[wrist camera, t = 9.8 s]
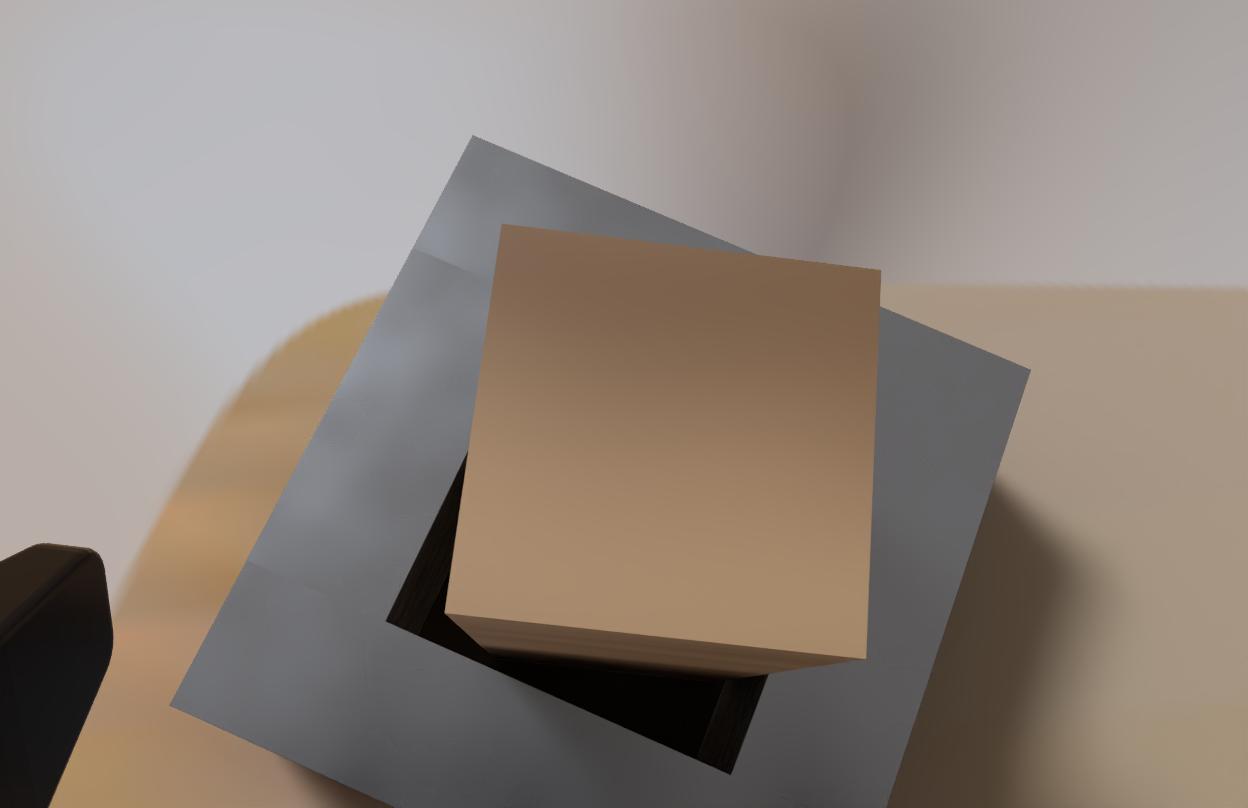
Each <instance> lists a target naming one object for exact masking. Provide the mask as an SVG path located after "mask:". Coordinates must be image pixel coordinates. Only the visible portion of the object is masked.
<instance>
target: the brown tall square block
mask: <svg viewBox="0 0 1248 808" xmlns="http://www.w3.org/2000/svg"><path fill="white" fill-rule="evenodd" d="M880 286H881V270H874V269H867V268H858V267H849V266H842V265H834V264H826V263H818V262H810V261H802V260H793V259H785V258H777V257H769V256H760V255H753V254H745V253H737V252H729V251H720V250H712V249H704V248H696V247H688V246H680V245H672V244H664V243H655V242H647V241H639V240H631V239H623V238H615V237H607V236H599V235H590V234H582V233H574V232H566V231H558V230H550V229H542V228H534V227H525V226H517V225H509V224H501V231H500V238H499V245H498V252H497V258H496V265H495V272H494V279H493V286H492V292H491V299H490V306H489V313H488V320H487V327H486V333H485V340H484V347H483V354H482V361H481V368H480V374H479V381H478V388H477V395H476V402H475V409H474V415H473V422H472V429H471V436H470V443H469V450H468V456H467V463H466V470H465V477H464V484H463V491H462V497H461V504H460V511H459V518H458V525H457V531H456V538H455V545H454V552H453V559H452V566H451V572H450V579H449V586H448V593H447V600H446V607H445V614H446V615H447V616H448V617H449V618H451V619H452V620H453V621H454V622H455V623H456V624H457V625H458V626H459V627H460V628H462V629H463V630H464V631H465V632H466V633H467V634H468V635H469V636H470V637H471V638H472V639H474V640H475V641H476V642H477V643H478V644H479V645H480V646H481V647H482V648H483V649H485V650H486V651H487V652H488V653H489V654H490V655H491V656H492V657H493V658H494V659H499V660H508V661H517V662H527V663H536V664H545V665H554V666H564V667H573V668H582V669H591V670H601V671H610V672H619V673H629V674H638V675H647V676H656V677H666V678H675V679H684V680H693V681H703V682H718V681H725V680H731V679H738V678H745V677H751V676H758V675H764V674H771V673H778V672H784V671H791V670H797V669H804V668H811V667H817V666H824V665H831V664H837V663H844V662H850V661H857V660H864V659H866V649H867V623H868V597H869V572H870V546H871V520H872V494H873V468H874V442H875V416H876V390H877V364H878V338H879V312H880Z"/></svg>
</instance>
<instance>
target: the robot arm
mask: <svg viewBox="0 0 1248 808" xmlns="http://www.w3.org/2000/svg"><path fill="white" fill-rule="evenodd" d="M112 649H113V627H112V619H111V612H110V604H109V597H108V590H107V582H106V575H105V568H104V564H103V561H102V559H101V557H100V555H99V554H98V553H97V552H95V551H94V550H92V549H90V548H85V547H76V546H68V545H59V544H51V543H42V544H36V545H34V546H32V547H29V548H27V549H25V550H23V551H21V552H19V553H17V554H15V555H12V556H10V557H8V558H6V559H4V560H2V561H0V808H49V806H50V803H51V801H52V799H53V796H54V794H55V792H56V789H57V787H58V784H59V782H60V780H61V777H62V775H63V773H64V770H65V768H66V766H67V763H68V761H69V758H70V756H71V754H72V751H73V749H74V747H75V744H76V742H77V740H78V737H79V735H80V732H81V730H82V728H83V725H84V723H85V721H86V718H87V716H88V714H89V711H90V709H91V707H92V704H93V702H94V699H95V697H96V695H97V692H98V690H99V688H100V685H101V683H102V681H103V678H104V676H105V674H106V671H107V668H108V666H109V663H110V659H111V655H112Z"/></svg>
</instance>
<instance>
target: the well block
mask: <svg viewBox="0 0 1248 808" xmlns="http://www.w3.org/2000/svg"><path fill="white" fill-rule="evenodd" d="M501 224H509V225H517V226H525V227H534V228H542V229H550V230H558V231H566V232H574V233H582V234H590V235H599V236H607V237H615V238H623V239H631V240H639V241H647V242H655V243H664V244H672V245H680V246H688V247H696V248H704V249H712V250H720V251H729V252H737V253H745V254H753V255H756V254H754V253H751V252H749V251H747V250H744V249H742V248H739V247H737V246H735V245H732V244H730V243H728V242H725V241H723V240H720V239H718V238H716V237H713V236H711V235H709V234H706V233H704V232H702V231H699V230H697V229H694V228H692V227H689V226H687V225H685V224H683V223H680V222H678V221H675V220H673V219H671V218H668V217H666V216H664V215H661V214H659V213H656V212H654V211H652V210H649V209H647V208H645V207H642V206H640V205H637V204H635V203H633V202H630V201H628V200H625V199H623V198H621V197H618V196H616V195H613V194H611V193H609V192H607V191H604V190H602V189H599V188H597V187H595V186H592V185H590V184H588V183H585V182H583V181H580V180H578V179H575V178H573V177H571V176H568V175H566V174H564V173H561V172H559V171H557V170H554V169H552V168H549V167H547V166H544V165H542V164H540V163H537V162H535V161H533V160H530V159H528V158H526V157H523V156H521V155H519V154H516V153H514V152H511V151H509V150H506V149H504V148H502V147H500V146H497V145H495V144H492V143H490V142H488V141H485V140H483V139H481V138H478V137H476V136H472V138H471V140H470V141H469V143H468V145H467V147H466V149H465V151H464V153H463V155H462V156H461V158H460V160H459V162H458V164H457V166H456V168H455V170H454V171H453V173H452V175H451V177H450V179H449V181H448V183H447V185H446V186H445V188H444V190H443V192H442V194H441V196H440V198H439V200H438V202H437V204H436V205H435V207H434V209H433V211H432V213H431V215H430V217H429V219H428V221H427V222H426V224H425V226H424V228H423V230H422V232H421V233H420V236H419V237H418V239H417V241H416V243H415V245H414V247H413V249H412V250H411V252H410V254H409V256H408V258H407V260H406V262H405V264H404V265H403V267H402V269H401V271H400V273H399V275H398V277H397V279H396V280H395V282H394V284H393V286H392V288H391V290H390V292H389V294H388V295H387V297H386V299H385V301H384V303H383V305H382V307H381V309H380V311H379V312H378V314H377V316H376V318H375V320H374V322H373V324H372V326H371V327H370V329H369V331H368V333H367V335H366V337H365V339H364V341H363V342H362V344H361V346H360V348H359V350H358V352H357V354H356V356H355V358H354V359H353V361H352V363H351V365H350V367H349V369H348V371H347V373H346V374H345V376H344V378H343V380H342V382H341V384H340V386H339V388H338V389H337V391H336V393H335V395H334V397H333V399H332V401H331V403H330V405H329V406H328V408H327V410H326V412H325V414H324V416H323V418H322V420H321V421H320V423H319V425H318V427H317V429H316V431H315V433H314V435H313V436H312V438H311V440H310V442H309V444H308V446H307V448H306V450H305V452H304V453H303V455H302V457H301V459H300V461H299V463H298V465H297V467H296V468H295V470H294V472H293V474H292V476H291V478H290V480H289V482H288V483H287V485H286V487H285V489H284V491H283V493H282V495H281V497H280V499H279V500H278V502H277V504H276V506H275V508H274V510H273V512H272V514H271V515H270V517H269V519H268V521H267V523H266V525H265V527H264V529H263V530H262V532H261V534H260V536H259V538H258V540H257V542H256V544H255V546H254V547H253V549H252V551H251V553H250V555H249V557H248V559H247V561H246V562H245V564H244V566H243V568H242V570H241V572H240V574H239V576H238V577H237V579H236V581H235V583H234V585H233V587H232V589H231V591H230V593H229V594H228V596H227V598H226V600H225V602H224V604H223V606H222V608H221V609H220V611H219V613H218V615H217V617H216V619H215V621H214V623H213V624H212V626H211V628H210V630H209V632H208V634H207V636H206V638H205V640H204V641H203V643H202V645H201V647H200V649H199V651H198V653H197V655H196V656H195V658H194V660H193V662H192V664H191V666H190V668H189V670H188V671H187V673H186V675H185V677H184V679H183V681H182V683H181V685H180V687H179V688H178V690H177V692H176V694H175V696H174V698H173V700H172V702H171V703H170V706H172V707H174V708H176V709H179V710H181V711H183V712H185V713H187V714H190V715H192V716H194V717H196V718H198V719H201V720H203V721H205V722H207V723H209V724H212V725H214V726H216V727H218V728H220V729H223V730H225V731H227V732H229V733H231V734H234V735H236V736H238V737H240V738H242V739H245V740H247V741H249V742H251V743H253V744H256V745H258V746H260V747H262V748H264V749H267V750H269V751H271V752H273V753H275V754H278V755H280V756H282V757H284V758H287V759H289V760H291V761H293V762H295V763H298V764H300V765H302V766H304V767H306V768H309V769H311V770H313V771H315V772H317V773H320V774H322V775H324V776H326V777H328V778H331V779H333V780H335V781H337V782H339V783H342V784H344V785H346V786H348V787H350V788H353V789H355V790H357V791H359V792H361V793H364V794H366V795H368V796H370V797H372V798H375V799H377V800H379V801H381V802H383V803H386V804H388V805H390V806H392V807H394V808H886V807H887V804H888V801H889V798H890V795H891V792H892V789H893V786H894V783H895V780H896V777H897V774H898V771H899V768H900V765H901V762H902V759H903V756H904V753H905V750H906V747H907V744H908V741H909V738H910V735H911V731H912V728H913V725H914V722H915V719H916V716H917V713H918V710H919V707H920V704H921V701H922V698H923V695H924V692H925V689H926V686H927V683H928V680H929V677H930V674H931V671H932V668H933V665H934V662H935V659H936V656H937V653H938V650H939V647H940V644H941V641H942V638H943V635H944V632H945V629H946V625H947V622H948V619H949V616H950V613H951V610H952V607H953V604H954V601H955V598H956V595H957V592H958V589H959V586H960V583H961V580H962V577H963V574H964V571H965V568H966V565H967V562H968V559H969V556H970V553H971V550H972V547H973V544H974V541H975V538H976V535H977V532H978V529H979V526H980V523H981V520H982V516H983V513H984V510H985V507H986V504H987V501H988V498H989V495H990V492H991V489H992V486H993V483H994V480H995V477H996V474H997V471H998V468H999V465H1000V462H1001V459H1002V456H1003V453H1004V450H1005V447H1006V444H1007V441H1008V438H1009V435H1010V432H1011V429H1012V426H1013V423H1014V420H1015V417H1016V414H1017V410H1018V407H1019V404H1020V401H1021V398H1022V395H1023V392H1024V389H1025V386H1026V383H1027V380H1028V377H1029V374H1030V371H1031V370H1030V369H1027V368H1025V367H1023V366H1020V365H1018V364H1016V363H1013V362H1011V361H1008V360H1006V359H1004V358H1001V357H999V356H997V355H994V354H992V353H989V352H987V351H985V350H982V349H980V348H977V347H975V346H973V345H970V344H968V343H966V342H963V341H961V340H958V339H956V338H954V337H951V336H949V335H947V334H944V333H942V332H939V331H937V330H935V329H932V328H930V327H928V326H925V325H923V324H920V323H918V322H916V321H913V320H911V319H909V318H906V317H904V316H901V315H899V314H897V313H894V312H892V311H890V310H887V309H885V308H882V307H880V312H879V338H878V364H877V390H876V416H875V442H874V468H873V494H872V520H871V546H870V572H869V597H868V623H867V649H866V659H864V660H857V661H850V662H844V663H837V664H831V665H824V666H817V667H811V668H804V669H797V670H791V671H784V672H778V673H771V674H764V675H758V676H751V677H745V678H738V679H731V680H726V682H725V684H724V687H723V689H722V692H721V695H720V697H719V700H718V702H717V705H716V708H715V710H714V713H713V715H712V718H711V721H710V723H709V726H708V728H707V731H706V734H705V736H704V739H703V741H702V744H701V747H700V749H699V752H698V754H697V757H696V760H695V759H693V758H691V757H689V756H686V755H684V754H682V753H680V752H677V751H675V750H673V749H671V748H668V747H666V746H664V745H662V744H659V743H657V742H655V741H653V740H650V739H648V738H646V737H644V736H641V735H639V734H637V733H635V732H633V731H630V730H628V729H626V728H624V727H621V726H619V725H617V724H615V723H612V722H610V721H608V720H606V719H603V718H601V717H599V716H597V715H594V714H592V713H590V712H588V711H585V710H583V709H581V708H579V707H576V706H574V705H572V704H570V703H567V702H565V701H563V700H561V699H558V698H556V697H554V696H552V695H549V694H547V693H545V692H543V691H540V690H538V689H536V688H534V687H531V686H529V685H527V684H525V683H522V682H520V681H518V680H516V679H513V678H511V677H509V676H507V675H504V674H502V673H500V672H498V671H495V670H493V669H491V668H489V667H487V666H484V665H482V664H480V663H478V662H475V661H473V660H471V659H469V658H466V657H464V656H462V655H460V654H457V653H455V652H453V651H451V650H448V649H446V648H444V647H442V646H439V645H437V644H435V643H433V642H430V641H428V640H426V639H424V638H421V637H419V636H418V635H419V633H420V631H421V629H422V627H423V624H424V622H425V620H426V618H427V616H428V614H429V612H430V610H431V608H432V605H433V603H434V601H435V599H436V597H437V595H438V593H439V591H440V589H441V586H442V584H443V582H444V580H445V578H446V576H447V574H448V572H449V570H450V567H451V565H452V559H453V552H454V545H455V538H456V531H457V525H458V518H459V511H460V504H461V497H462V491H463V484H464V477H465V470H466V463H467V456H468V450H469V443H470V436H471V429H472V422H473V415H474V409H475V402H476V395H477V388H478V381H479V374H480V368H481V361H482V354H483V347H484V340H485V333H486V327H487V320H488V313H489V306H490V299H491V292H492V286H493V279H494V272H495V265H496V258H497V252H498V245H499V238H500V231H501Z"/></svg>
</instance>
